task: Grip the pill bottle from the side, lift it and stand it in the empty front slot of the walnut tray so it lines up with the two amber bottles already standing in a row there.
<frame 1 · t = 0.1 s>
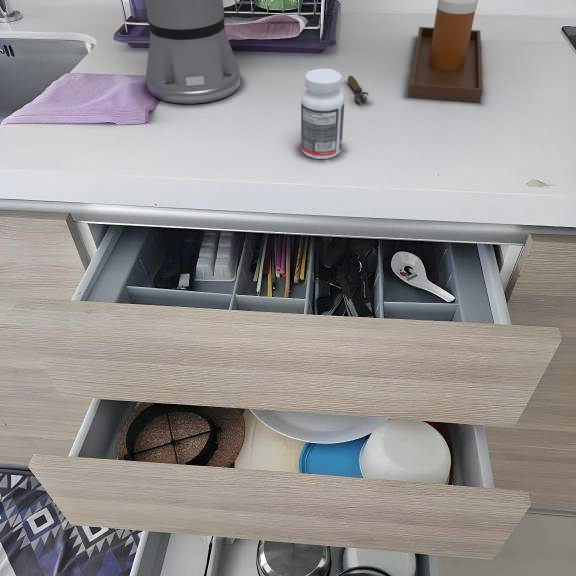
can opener: (355, 94, 94), on the worktop
amber bottle middle: (446, 64, 100), resting on tray
tray: (445, 67, 101), on the worktop
amber bottle back: (447, 46, 106), resting on tray
pill bottle: (321, 151, 81), on the worktop
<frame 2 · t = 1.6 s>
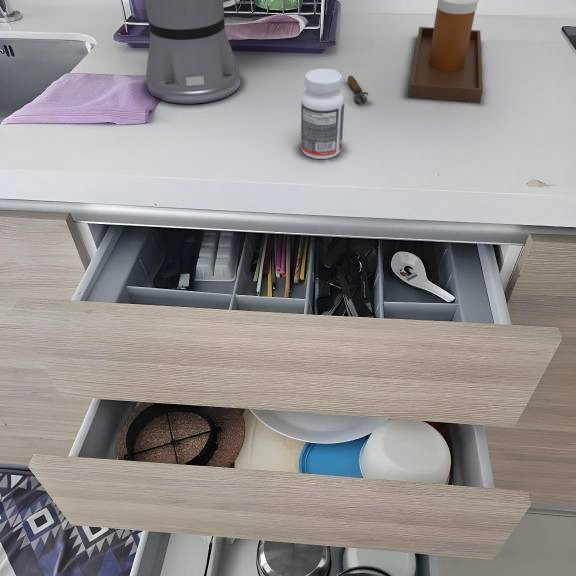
nothing on the worktop moved.
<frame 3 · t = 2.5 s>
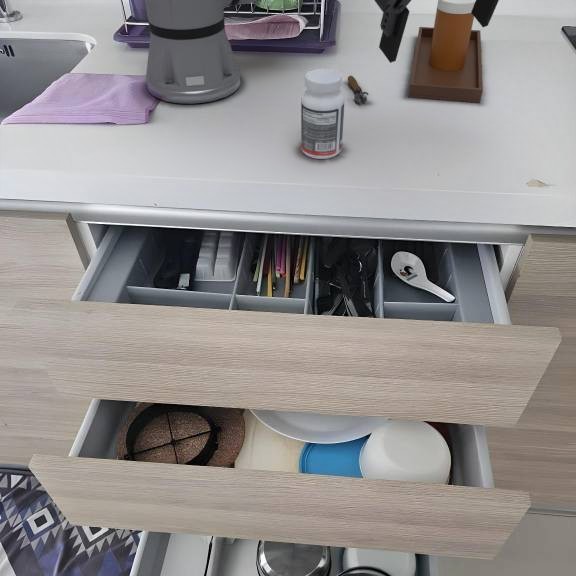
hand: (434, 36, 71), 14 cm above the worktop, tool tilted 25°, fingers open, 13 cm apart
nothing on the worktop moved.
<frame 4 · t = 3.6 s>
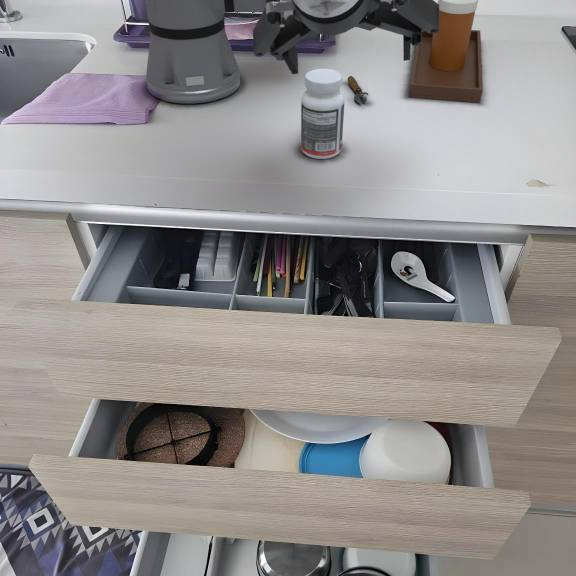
hand: (349, 55, 71), 13 cm above the worktop, tool tilted 55°, fingers open, 13 cm apart
nothing on the worktop moved.
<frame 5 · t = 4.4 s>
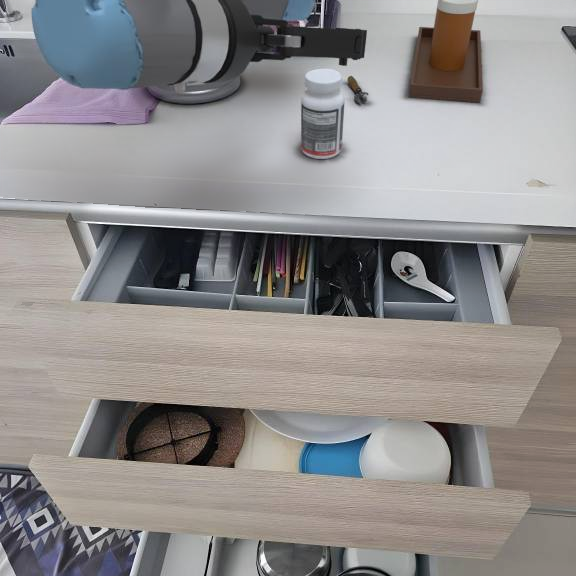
hand: (309, 40, 68), 15 cm above the worktop, tool tilted 75°, fingers open, 13 cm apart
nothing on the worktop moved.
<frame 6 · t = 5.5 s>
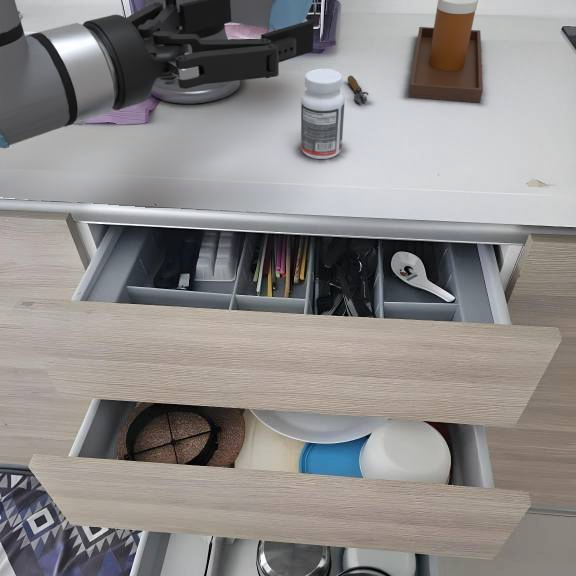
hand: (267, 21, 64), 18 cm above the worktop, tool horizontal, fingers open, 13 cm apart
nothing on the worktop moved.
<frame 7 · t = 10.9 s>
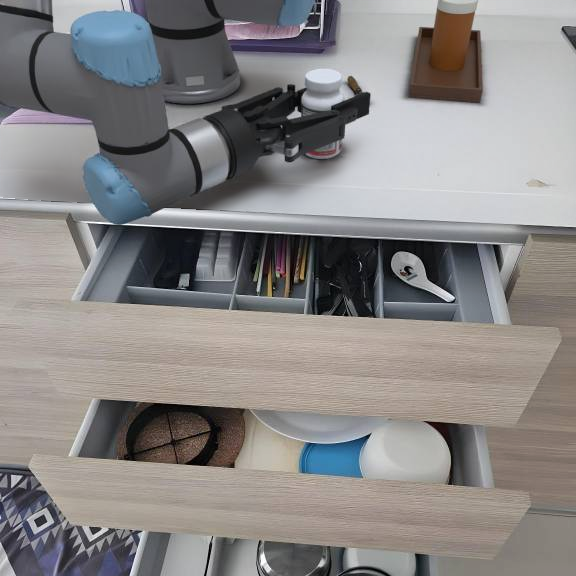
hand: (350, 95, 79), 6 cm above the worktop, tool horizontal, fingers closed on pill bottle, 6 cm apart
pill bottle: (321, 151, 81), on the worktop, touching gripper
everything else where it was.
when the fingers open (6 cm above the worktop, at t = 21.6 s): pill bottle stays where it is, resting on tray.
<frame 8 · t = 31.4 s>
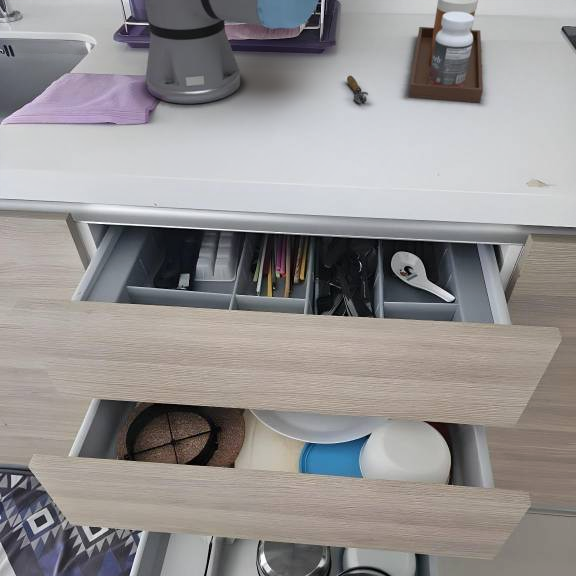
pill bottle: (445, 86, 95), resting on tray
everything else where it was.
at the end: pill bottle 0.1 cm from the target spot in the tray, point 0.3 cm above the tray's base; pill bottle tilted 0°; the gripper is holding nothing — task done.
